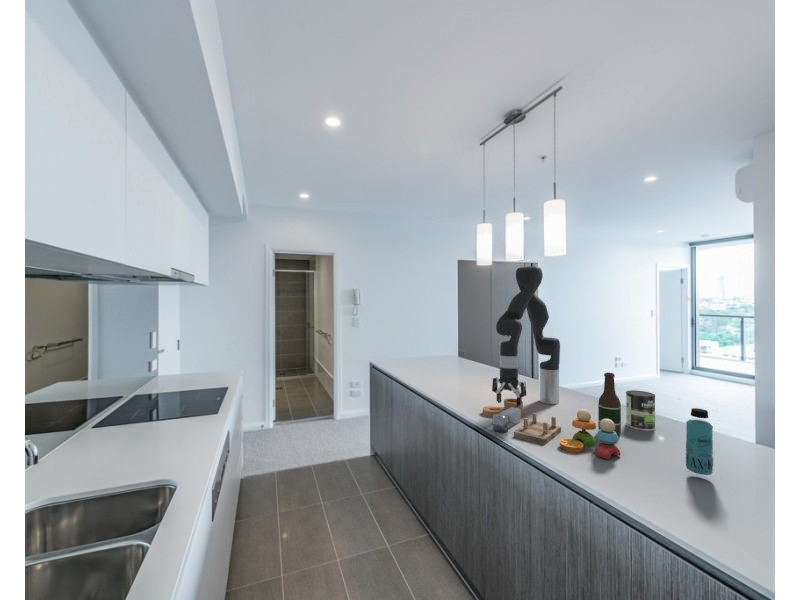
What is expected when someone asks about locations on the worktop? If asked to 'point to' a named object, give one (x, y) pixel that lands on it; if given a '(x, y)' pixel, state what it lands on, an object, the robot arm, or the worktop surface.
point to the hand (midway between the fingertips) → (508, 404)
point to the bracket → (502, 408)
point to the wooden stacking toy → (603, 435)
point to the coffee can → (640, 410)
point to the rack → (538, 430)
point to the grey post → (506, 420)
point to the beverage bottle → (699, 443)
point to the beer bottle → (610, 404)
